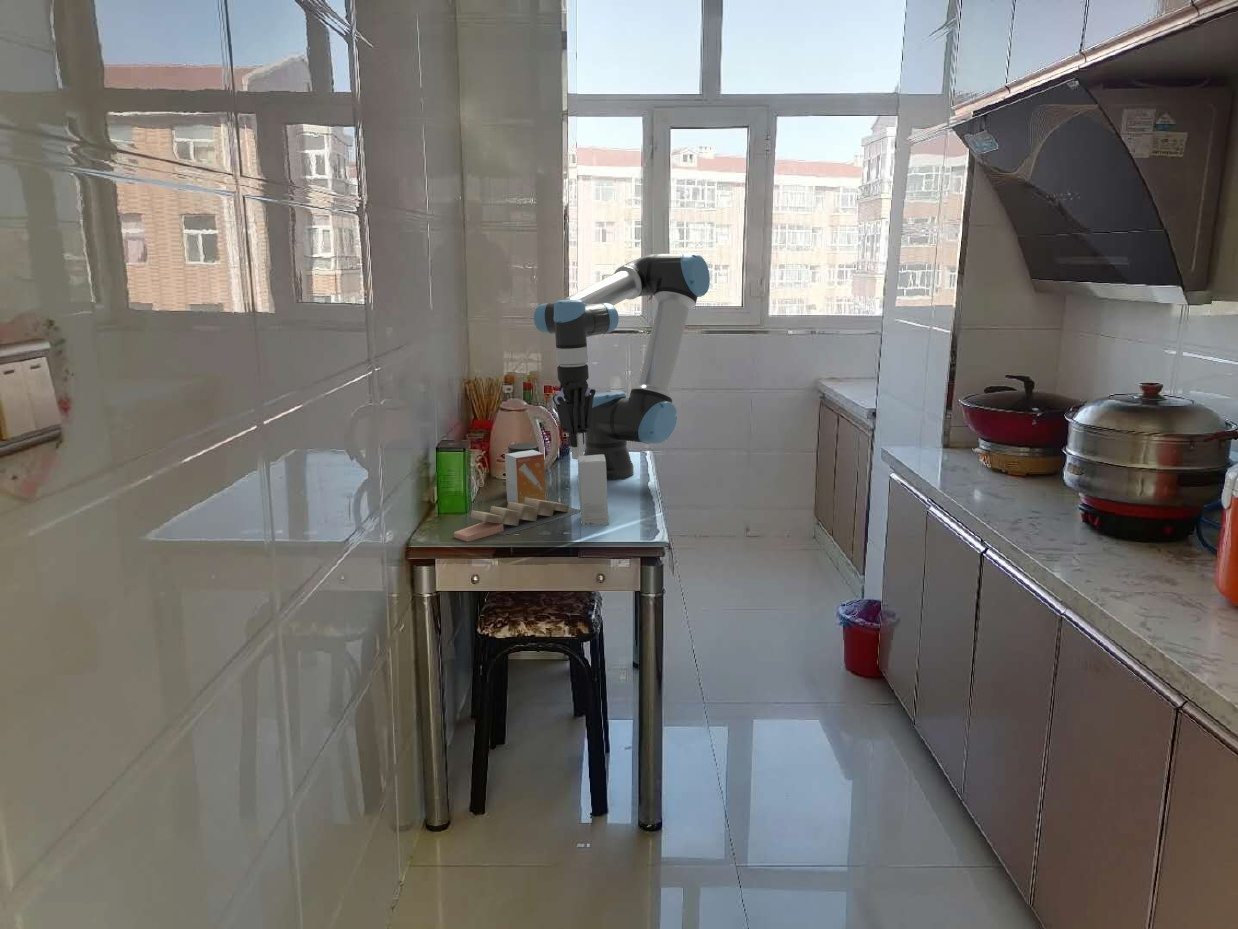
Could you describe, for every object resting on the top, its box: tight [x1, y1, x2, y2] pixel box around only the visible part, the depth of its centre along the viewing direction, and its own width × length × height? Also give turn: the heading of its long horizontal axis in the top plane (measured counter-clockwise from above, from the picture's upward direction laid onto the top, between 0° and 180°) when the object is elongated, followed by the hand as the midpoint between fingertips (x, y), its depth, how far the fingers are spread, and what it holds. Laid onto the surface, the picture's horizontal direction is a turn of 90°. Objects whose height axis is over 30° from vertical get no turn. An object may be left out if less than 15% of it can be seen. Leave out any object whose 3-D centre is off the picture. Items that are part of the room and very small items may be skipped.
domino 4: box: [506, 502, 553, 517], centre depth 219 cm, size 2×5×10 cm
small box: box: [504, 450, 547, 504], centre depth 233 cm, size 8×6×13 cm
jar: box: [507, 442, 540, 454], centre depth 247 cm, size 9×8×12 cm
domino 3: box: [489, 505, 537, 521], centre depth 215 cm, size 2×5×10 cm
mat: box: [497, 506, 581, 536], centre depth 219 cm, size 25×10×1 cm, turn 136°
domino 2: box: [470, 510, 519, 526], centre depth 211 cm, size 2×5×10 cm
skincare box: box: [577, 454, 610, 527], centre depth 215 cm, size 8×7×16 cm
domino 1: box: [453, 521, 504, 542], centre depth 208 cm, size 2×5×10 cm
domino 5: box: [524, 497, 570, 512], centre depth 222 cm, size 2×5×10 cm
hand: (578, 458), depth 231 cm, fingers closed
